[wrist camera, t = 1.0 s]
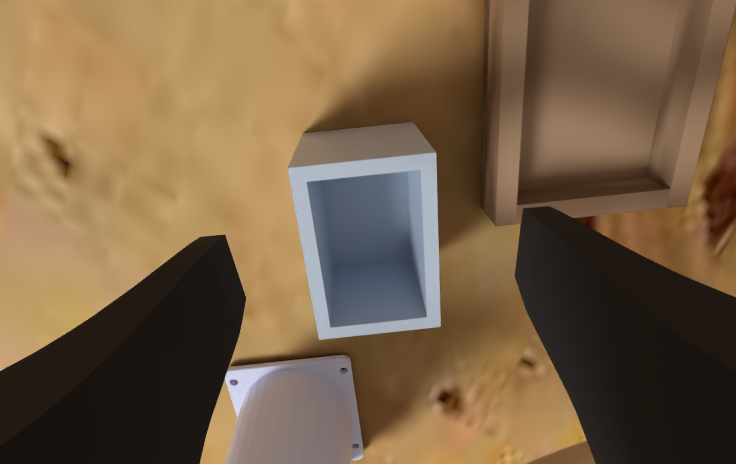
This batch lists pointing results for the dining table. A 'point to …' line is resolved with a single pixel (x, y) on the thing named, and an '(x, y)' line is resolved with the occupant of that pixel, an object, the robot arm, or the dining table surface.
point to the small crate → (368, 228)
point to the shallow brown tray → (596, 103)
